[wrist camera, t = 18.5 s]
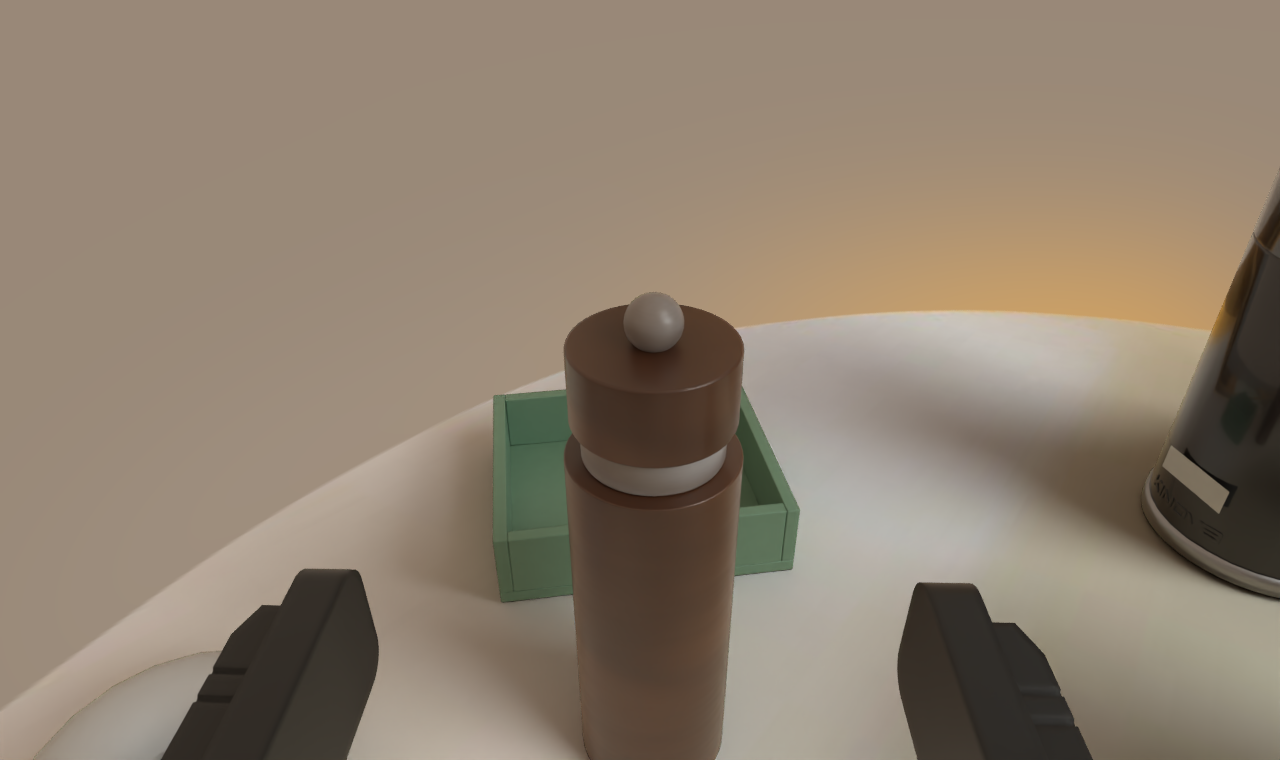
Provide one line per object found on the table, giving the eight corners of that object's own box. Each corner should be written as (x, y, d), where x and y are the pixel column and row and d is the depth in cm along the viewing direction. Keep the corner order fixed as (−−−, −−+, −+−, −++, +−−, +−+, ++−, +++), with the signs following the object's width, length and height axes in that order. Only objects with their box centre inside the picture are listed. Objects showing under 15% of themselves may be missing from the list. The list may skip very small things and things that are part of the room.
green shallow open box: (733, 428, 47) (737, 374, 45) (792, 569, 38) (800, 509, 36) (499, 449, 45) (493, 394, 43) (500, 603, 36) (492, 542, 34)
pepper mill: (705, 662, 33) (728, 248, 24) (736, 783, 29) (781, 336, 19) (577, 678, 33) (547, 260, 23) (589, 804, 28) (559, 354, 19)
